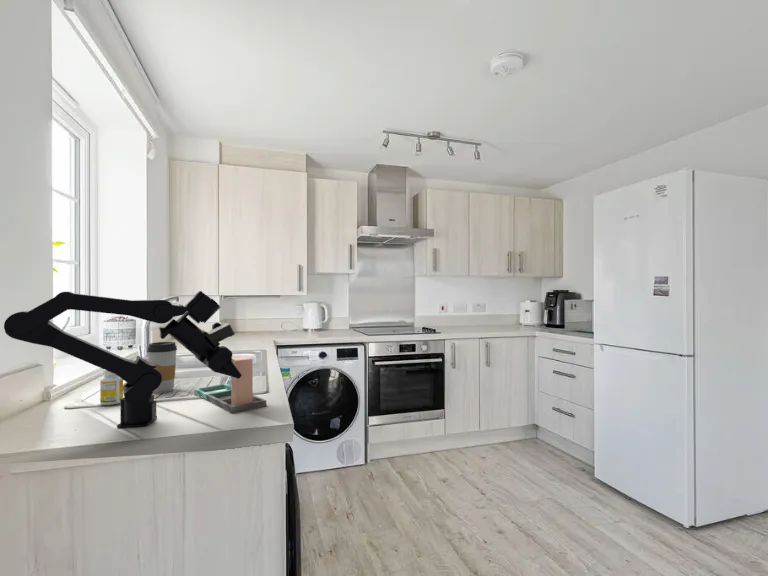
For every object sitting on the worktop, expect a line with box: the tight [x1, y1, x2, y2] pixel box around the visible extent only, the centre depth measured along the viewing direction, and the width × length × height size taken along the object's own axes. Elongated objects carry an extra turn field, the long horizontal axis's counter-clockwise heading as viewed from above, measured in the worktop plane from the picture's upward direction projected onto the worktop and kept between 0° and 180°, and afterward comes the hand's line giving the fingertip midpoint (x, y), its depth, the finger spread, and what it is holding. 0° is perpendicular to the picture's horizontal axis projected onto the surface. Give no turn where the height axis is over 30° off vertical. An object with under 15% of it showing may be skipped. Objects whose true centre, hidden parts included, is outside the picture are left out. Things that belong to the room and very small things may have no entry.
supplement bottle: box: [99, 369, 124, 406], centre depth 114 cm, size 5×5×10 cm
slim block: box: [230, 356, 254, 406], centre depth 110 cm, size 4×4×13 cm
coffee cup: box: [146, 341, 178, 394], centre depth 127 cm, size 8×8×15 cm
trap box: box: [194, 383, 267, 414], centre depth 117 cm, size 27×10×2 cm, turn 44°
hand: (235, 374), depth 109 cm, fingers open, 9 cm apart
